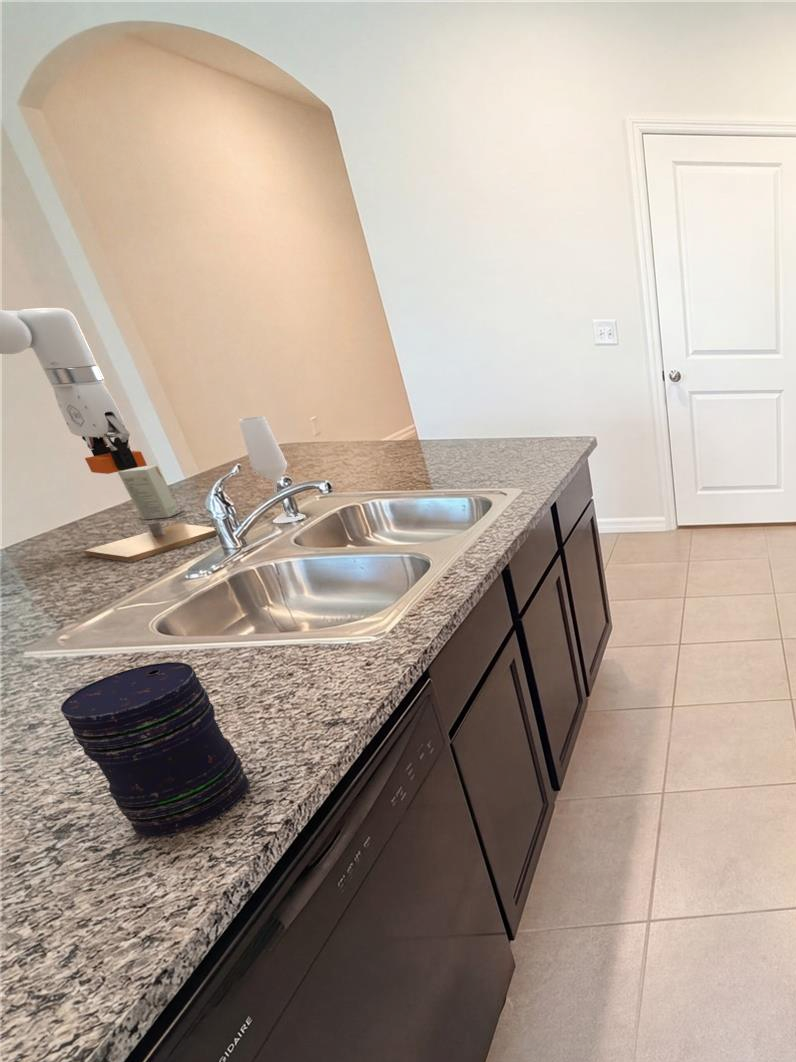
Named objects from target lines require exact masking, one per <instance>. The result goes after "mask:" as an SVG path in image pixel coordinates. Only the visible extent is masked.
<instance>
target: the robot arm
mask: <svg viewBox="0 0 796 1062" xmlns="http://www.w3.org/2000/svg"><path fill="white" fill-rule="evenodd" d="M27 349H32V350H33V352H34V353H35V356H36V358H37V360H38V361H39V364H40V366H41V367H42V369H43V371H44V374H45V376H46V377H47V379H48V382H49V384H50V386H51V387H52V390H53V393H54V396H55V400H56V402H57V405H58V407H59V410H60V412H61V415H62V417H63V419H64V421H65V423H66V425H67V428H68V430H69V432H70V433H71V434H73V435H74V436H78V437H81V439H82V440H83V441H84V442H85V443H86V445H87V448H88V449H89V450H90V451H91V453H92V455H93V456H98V455H103V454H108V453H110V454H111V456H112V458H113V460H114V462H115V464H116V466H117V468H118V470H126V469H131V468H136V467H137V466H138V465H137V463H136V461H135V459H134V456H133V454H132V452H131V451H132V450H131V444H130V443H129V438H130V435H131V434H130V432H129V430H128V427H127V424H126V422H125V420H124V418H123V416H122V413H121V411H120V409H119V407H118V405H117V404H116V402H115V400H114V399H113V396H112V395H111V393H110V391H109V390H108V388H107V387H106V385H105V383H106V381H105V378H104V376H103V374H102V371H101V370H100V368H99V365H98V364H97V361H96V359H95V357H94V355H93V353H92V350H91V348H90V346H89V344H88V342H87V339H86V338H85V335H84V333H83V331H82V329H81V326H80V324H79V322H78V320H77V318H76V317H75V315H74V313H72V312H71V311H70V310H69V309H67V308H63V307H62V308H61V307H39V308H24V309H21V310H6V309H5V310H4V309H0V354H2V355H15V354H20V353H22V352H24V351H25V350H27ZM108 433H109V434H108Z"/></svg>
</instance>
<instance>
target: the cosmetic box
mask: <svg viewBox="0 0 796 1062" xmlns="http://www.w3.org/2000/svg"><path fill="white" fill-rule="evenodd" d="M117 474H118V476H119V477H120V479H121V481H122V483H123V485H124V488H125V490H126V491H127V493H128V495H129V497H130V499H131V501H132V503H133V505H134V506H135V509H136V511H137V512H138V515H139V516H140V518H141V520H153V519H155V520H156V519H165V518H170V517H173V516H175V515H178V514H179V513H181V510H180V509H179V506H178V504H177V502H176V500H175V498H174V496H173V494H172V492H171V490H170V488H169V485H168V484H167V482H166V480H165V478H164V476H163V474H162V472H161V469H160V468H159V465H147V466H142V467H138V468H133V469H128V470H124V471H119V472H117Z"/></svg>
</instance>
